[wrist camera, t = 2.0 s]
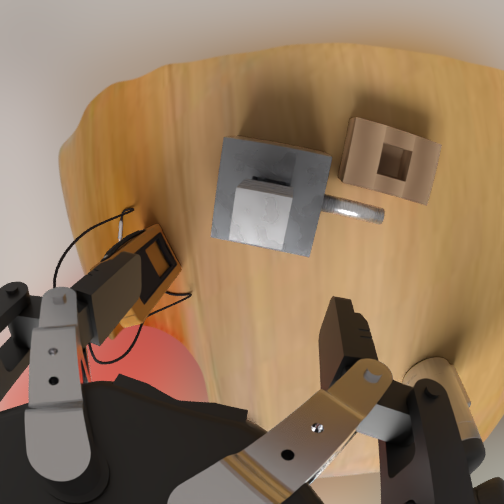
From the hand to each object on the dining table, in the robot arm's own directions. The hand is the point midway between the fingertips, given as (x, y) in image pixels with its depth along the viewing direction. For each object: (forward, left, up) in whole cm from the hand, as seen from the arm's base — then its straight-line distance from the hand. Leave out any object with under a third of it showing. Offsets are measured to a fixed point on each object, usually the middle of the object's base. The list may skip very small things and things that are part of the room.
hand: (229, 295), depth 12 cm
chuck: (-4, 0, -24) cm, 25 cm away
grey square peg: (0, 0, -22) cm, 22 cm away
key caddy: (-12, -6, -24) cm, 28 cm away
